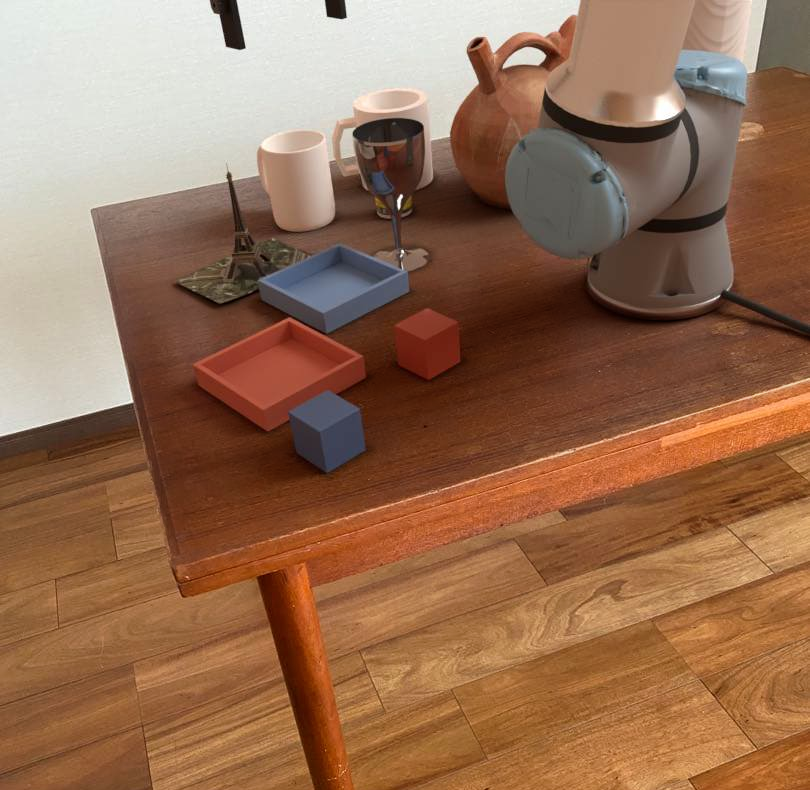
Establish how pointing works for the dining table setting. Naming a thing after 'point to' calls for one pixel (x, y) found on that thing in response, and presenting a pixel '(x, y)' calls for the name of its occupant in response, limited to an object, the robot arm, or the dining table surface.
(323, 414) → the blue block
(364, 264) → the blue tray
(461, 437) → the dining table surface
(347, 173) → the mug
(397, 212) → the wine glass
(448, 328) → the red block
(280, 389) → the red tray
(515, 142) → the jug
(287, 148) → the cup
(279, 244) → the eiffel tower figurine
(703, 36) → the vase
